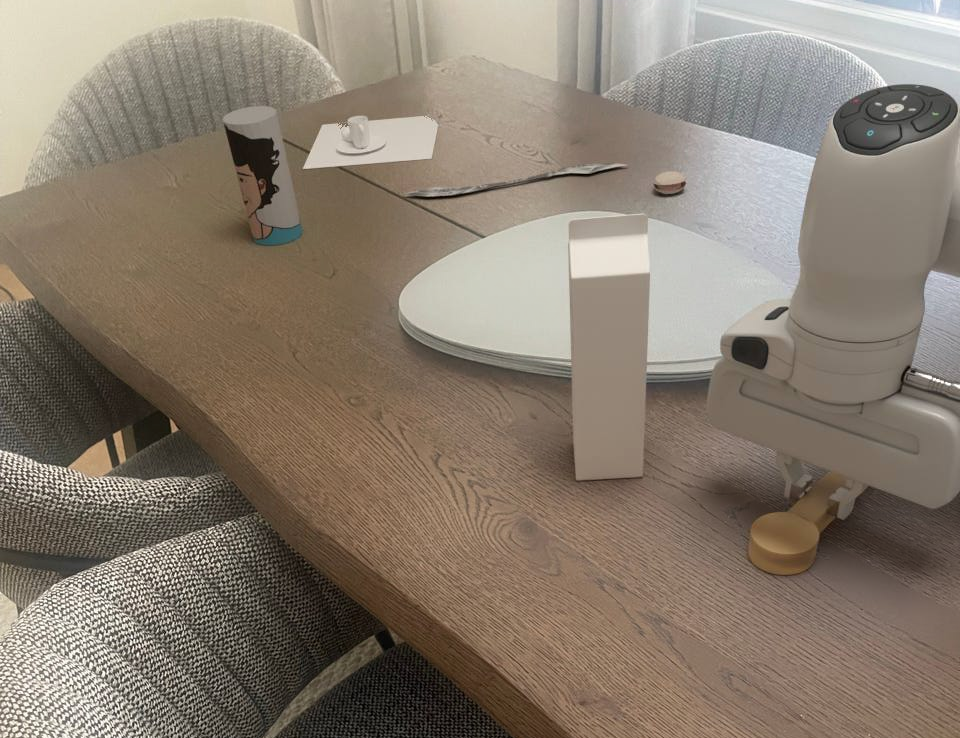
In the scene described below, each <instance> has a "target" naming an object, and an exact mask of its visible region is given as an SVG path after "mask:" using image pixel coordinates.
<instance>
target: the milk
mask: <svg viewBox="0 0 960 738" xmlns="http://www.w3.org/2000/svg"><path fill="white" fill-rule="evenodd" d="M648 229H649V217H648V215H647V214H646V213H636V214H635V213H633V214H621V215H620V214H619V215H608V216H594V217H581V218H572V219H571V220H569V222H568V245H567V249H568V251H567V252H568V254H567V255H568V286H569V287H568V291H569V326H570V327H569V328H570V329H569V330H570V331H569V332H570V333H569V334H570V366H571V368H570V369H571V372H570V373H571V404H572V405H571V406H572V409H571V410H572V445H573V458H574V459H573V460H574V470H575V471H574V472H575V480H576V481H593V480H594V481H595V480H611V479H613V480H614V479H629V478H630V479H631V478H643V476H644V459H645V458H644V457H645V454H644V453H645V452H644V451H645V429H646V423H645V422H646V403H647V402H646V401H647V400H646V398H647V375H648V373H647V372H648V347H649V345H648V343H649V316H650V292H651V291H650V288H651V263H650V262H651V261H650V251H649V248H650V247H649V235H648V233H649V231H648Z"/></svg>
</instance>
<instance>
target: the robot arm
mask: <svg viewBox="0 0 960 738" xmlns="http://www.w3.org/2000/svg"><path fill="white" fill-rule="evenodd" d="M797 254H798V260H799V261H798V262H799V271H800V272H799V278H798V281H797V284H796V287H795V289H794V291H793V293H792V296H791V297H790V298H781V299H771V300H767V301H765V302H763V303H761V304H760V305H758V306H756V307H754V308H753V309H751V310H750V311H749V312H747V313H746V314H744V315H743V316H741V317H740V318H739V319H738V320H736V321H735V322H734V323H733V324H732V325H731V326H729V328H728V329H726V330H725V331H724V332H723V334H722V335H721V337H720V341H719V350H720V354H721V356H722V357H720V358H719V359H718V360H717V361H716V363H715V364H714V365H713V368H712V371H711V375H710V379H709V384H708V388H707V389H708V390H707V398H706V406H705V413H706V416H707V418H708V421H709V422H710V424H711V426H712V427H713V428H714V429H716V430H718V431H720V432H723V433H727V434H729V435H731V436H734V437H738V438H740V439H743V440H744V441H745V440H746V441H748V442H751V443H753V444H755V445H759V446H761V447H764V448H766V449H769V450H772V451H775V452H776V454H775V455H776V456H775V462H776V464H777V466H778V468H779V471H780V473H781V475H782V478H783V480H784V481H785V485H784V492H783V497H784V498H787V499H789V500H792V501H794V502H796V503H797V502H798V501H799V500H800V499H801V498H802V497H803V496H804V495H805V494H806V493H807V492H809V491H810V490H811V488H812V486H811V485H812V484H813V481H814V476H812V475H810V474H808V473H805V470H804V467H803V463H802V462H804V463H807V464H809V465H813V466H815V467H817V468H820V469H822V470H826V471H827V472H829V471H831V472H834V473H836V474H839V475H842V476H844V477H847V480H846V486H847V487H849V488H851V489H850V490H847V489H844V488H841V487H839V488H838V489H837V490H836V492H835V493H834V494H832V495H831V496H830V497H829V499H828V504H827V505H828V508H827V509H826V510H827V514H830V515H832V516H834V517H836V518H837V519H840V520H842V521H844V520H846V518H847V517H849V515H850V514H851V513H852V512H853V509H854V507H855V506H854V505H855V503H856V499H857V497H859V496H860V495H861V494H862V493H863V492H864V491H865V490H866V489H867V488H868V487H871V488H873V489H874V488H875V489H877V490H879V491H882V492H885V493H887V494H890V495H893V496H895V497H898V498H901V499H904V500H907V501H909V502H912V503H914V504H917V505H919V506H923V507H925V508H928V509H931V510H936V509H939V508H941V507H943V506H945V505H947V504H949V503H951V501H953V500H954V499H955V498H956V497H957V496H958V494H959V493H960V381H957V380H953V381H952V380H949V379H946V378H943V377H942V376H941V377H940V376H938V375H936V374H934V373H931V372H929V371H926V370H925V371H924V370H921V369H918V368H915V367H912V364H913V361H914V357H915V353H916V349H917V344H918V340H919V338H920V337H919V336H920V333H921V329H922V325H923V321H924V317H925V312H926V300H925V288H926V287H925V286H926V283H927V280H928V277H929V275H930V274H931V271H932V272H936V273H940V274H944V275H948V276H952V277H955V278H959V279H960V106H959V103H958V102H957V101H956V100H955V98H954V97H952V96H951V95H950V94H948V93H947V92H946V91H944V90H942V89H939V88H937V87H933V86H929V85H924V84H917V83H916V84H914V83H913V84H911V83H903V84H902V83H901V84H900V83H899V84H891V85H886V86H881V87H876V88H873V89H870V90H867V91H864V92H862V93H859V94H857V95H855V96H854V97H852V98H850V99H848V100H846V101H845V102H844V103H843V104H841V105H840V106H838V107H837V109H836V110H835V111H834V113H833V114H832V115H831V118H830V119H829V121H828V124H827V126H826V128H825V131H824V133H823V136H822V138H821V141H820V145H819V147H818V150H817V154H816V158H815V161H814V164H813V168H812V171H811V176H810V179H809V184H808V188H807V193H806V197H805V203H804V207H803V213H802V218H801V224H800V230H799V237H798V244H797Z"/></svg>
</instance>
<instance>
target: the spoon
mask: <svg viewBox="0 0 960 738" xmlns="http://www.w3.org/2000/svg"><path fill="white" fill-rule="evenodd" d="M846 480H847V477H844V476H842V475H839V474H836V473H834V472H831V471H827V473H825V474H824V475H823V476H822V477H821V478H820V479H819V480H818V482H816V483H815V484H814V485H813V486H811V490H810V491H809V492H807V493H806V494H805V495H804V496H803V497H802V498H801V499H800V500H799V501H798V502H796V503H795V504H793V505H792V506H791V508H789V509H787V511H776V512H775V511H773V512H770V513H766V514H763V515H761V516H759V517H758V518H756V519H755V520H754V521H753V522H752V524H751V526H750V532H749V538H748V546H747V555H748V558H749V560H750V562H751V563H752V564H753V565H754V566H755V567H757V568H758V569H760V570H762V571H764V572H766V573H768V574H773V575H778V576H790V575H791V576H792V575H796V574H797V575H798V574H800V573H803V572H805V571H806V570H808V569H809V568H811V567H812V565H813V564H814V563H815V560H816V556H817V551H818V547H819V541H820V534H821V533H822V532H823V531H824V530H825V529H826V528H827V527H828V526H829V525H830V524H831V523H832V522H833V521H834V520H835V519H836V518H837V517H834V516H832V515H830V514H827V510H826V509H827V508H828V505H827V504H828V499H829V497H830V496H831V495H832V494H834V493H835V492H836V490H837V489H838V488H839V487H841V488H844V489H847V490H850V489H851V488H849V487H847V486H846Z"/></svg>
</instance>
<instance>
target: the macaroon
mask: <svg viewBox="0 0 960 738" xmlns="http://www.w3.org/2000/svg"><path fill="white" fill-rule="evenodd" d="M686 181H687V177H686V175H685V174H683V173H681V172H679V171H676V170H675V171H669V170H667V171H664V172H661V173H659V174H658V175H657V176H655V178H654V181H653V187H654V189H655V191H656V192H658V193H661V194H663V195H674V194H676V193H680V192H681V191H682V190H683V189H684V188H685V187H686V185H687V182H686Z"/></svg>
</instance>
